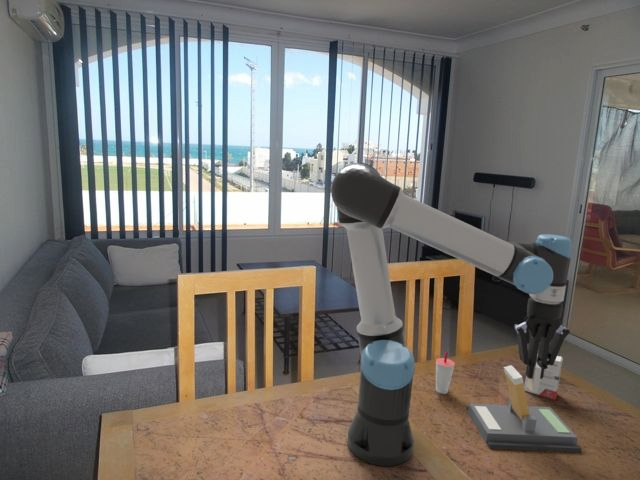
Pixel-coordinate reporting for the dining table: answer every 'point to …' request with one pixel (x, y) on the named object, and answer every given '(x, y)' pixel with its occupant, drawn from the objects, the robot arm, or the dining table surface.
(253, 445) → the dining table surface
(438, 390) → the cup
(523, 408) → the breaker lever
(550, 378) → the ink box
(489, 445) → the dark grey edge strip
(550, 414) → the panel
